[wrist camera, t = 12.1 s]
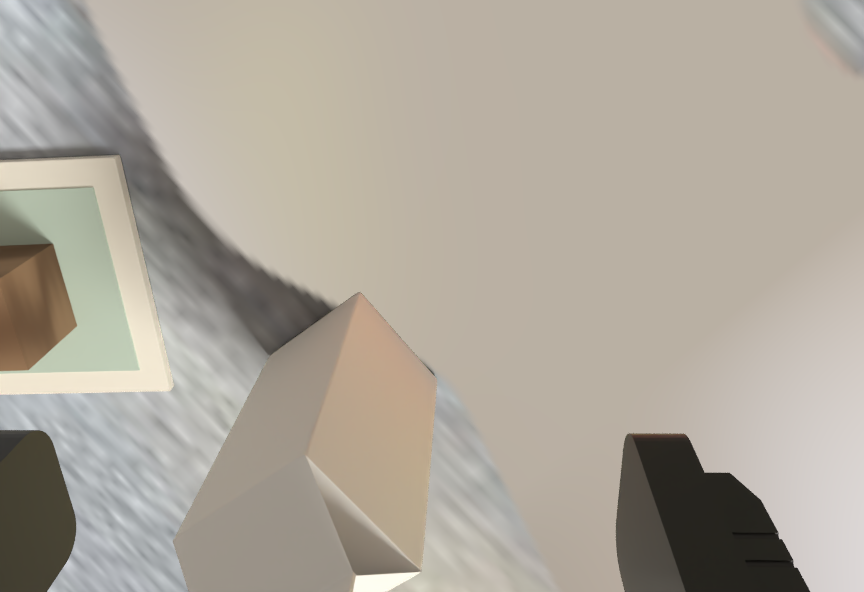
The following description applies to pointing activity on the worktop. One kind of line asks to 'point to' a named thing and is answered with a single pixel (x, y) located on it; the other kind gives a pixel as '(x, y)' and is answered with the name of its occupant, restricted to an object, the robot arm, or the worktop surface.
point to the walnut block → (31, 305)
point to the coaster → (86, 275)
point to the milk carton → (320, 468)
